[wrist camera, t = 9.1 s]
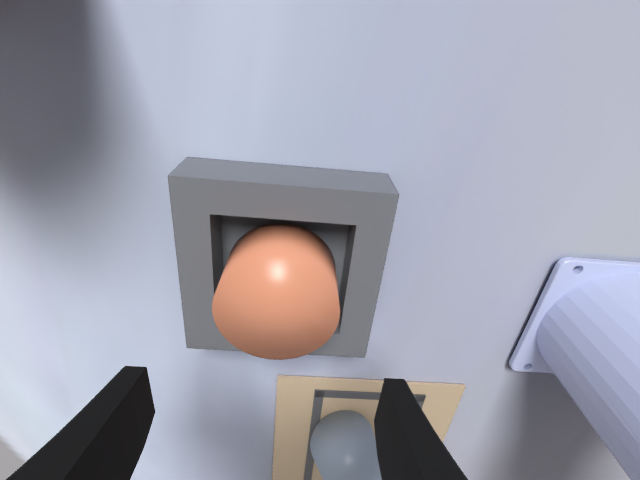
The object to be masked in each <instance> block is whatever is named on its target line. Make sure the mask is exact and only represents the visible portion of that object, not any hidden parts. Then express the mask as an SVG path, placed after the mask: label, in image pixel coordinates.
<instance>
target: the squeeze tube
mask: <svg viewBox="0 0 640 480" xmlns="http://www.w3.org/2000/svg"><path fill="white" fill-rule="evenodd" d="M310 448H311V453H312V456H313V459H314V461H315V463H316V465H317V467H318V470H319V472H320V474H321V476H322V479H323V480H382V478H381V473H380V468H379V462H378V457H377V449H376V440H375V436H374V433H373V429H372V427H371V425H370V423H369V422H368V420H367V419H366V418H365V417H364V416H362V415H361V414H359V413H357V412H355V411H351V410H340V411H336V412H333V413H331V414H329V415H327V416H325V417H324V418H323V419H322V420H321V421H320V422H319V423H318V424H317V426H316V427H315V429H314V431H313V433H312V436H311V441H310Z"/></svg>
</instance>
